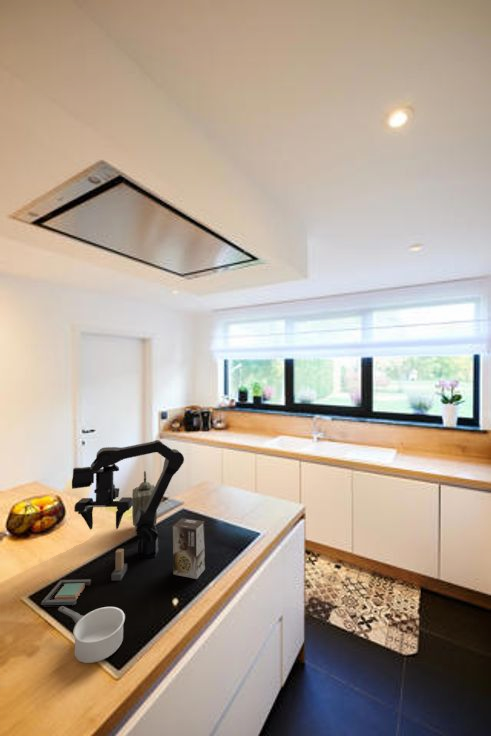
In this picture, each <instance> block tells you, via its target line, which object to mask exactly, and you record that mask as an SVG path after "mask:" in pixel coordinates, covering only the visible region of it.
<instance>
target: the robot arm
mask: <svg viewBox="0 0 491 736" xmlns="http://www.w3.org/2000/svg"><path fill="white" fill-rule="evenodd" d="M154 453H157V454H159V455H161V456H162V458H164V461H163V466H162V467H163V468H162V470H161V473H160V476H159V477H158V479H157V482H156V483H155V485H154V486H155V488H154V490H153V492H152V494H151V496H150V498H149V501H148V503H147V505H146V506H145V508H144V509H143V510H141V509H138V512H137V515H136V516H135V518H134V525H133V526H134V529H135V533H136V535H137V536H138V541H137V546H136V547H137V552H136V553H137V558H155V557H156V556H157V553H158V552H159V549H160V546H159V533H158V530H157V527H156V524H154V520H155V514H156V511H157V510H158V508H159V506H160V504H161V502H162V499H163V498H164V496H165V493H166V491H167V489H168V488H169V485H170V483H171V481H172V478H173V476H175V474H176V473H178V471H179V470H180V468H181V467H182V465H183V464H184V462H185V458H184V455H183V453H181V452H180V451H179V450H178V449H174V448H173V449H171V448H170V447H169V446H167V445H166V444H164V443H163V442H162V441H161V440H158V439H156V440H153V441H150V442H144V443H139V444H133V445H129V446H124V447H120V446H119V447H117V446H112V447H111V446H110V447H107V446H106V447H101V448H100V449H99V450H98V451H97V452H96V455H95V457H96V458H95V459H94V460H93V461H92V463H91V464H90V466H85V467H73V469H72V478H71V489H72V490H74V489H81V488H90V487H91V486H92V484H94V483H95V489H94V490H93V492H94V494H95V500H94V499H93V498H92V497H82V498H81V499H79V501H77V502H75V504H74V507H73V508H74V509H73V511H74V513H77V514H78V515H81V517H82V518H83V519H84V521H85V523H86V524H87V526H88V528H89V530H91V531H92V530H93V528H94V526H93V525H94V520H93V517H94V516H93V511H94V508H113V507H114V508H116V512H115V528H116V530H118V529H119V528H120V524H121V521H122V519H123V515H124V514H126V512H128V511H129V510H130V509H131V508H132V505H133V499H132V497H129V496H128V497H124V496H123V497H121V498H120V499H119V500H116V499H117V498H119V495H120V488H119V487H118V488H116V486H115V484H114V472H119V471H120V467H119V466H118V465H116V464H117V463H119V462H121V461H123V460H125V459H132V458H134V457H135V458H136V457H139V456H145V455H149V454H154Z"/></svg>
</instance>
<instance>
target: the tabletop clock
mask: <svg viewBox="0 0 491 736" xmlns="http://www.w3.org/2000/svg"><path fill="white" fill-rule="evenodd" d="M155 486H156V485H155V484H151V483H150V482H149V481H147V471H144V472H143V482H141V483H140V484H139V486H136V487H134V488H133V489H132V494H131V495H132V499H133V505H132V507H131V508H132V509H131V510H132V511H131V513H132V516H131V517H132V526H134V518H135V516H136V515H137V512H138V509H141V510H143V509H144V508H145V506H146V505H147V503H148V501H149V498H150V496H151V494H152V492H153V490H154V488H155ZM157 515H158V512H157V511H156V514H155V520H154V524H155V525H157Z"/></svg>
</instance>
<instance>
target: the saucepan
mask: <svg viewBox="0 0 491 736" xmlns="http://www.w3.org/2000/svg"><path fill="white" fill-rule="evenodd" d="M57 611H59V612H60V613H62V614H63V615H64V614H65V615H66V616H68V617H70V618H72V620H73V621H74V623H75V625H74V627H73V630H72V635H73V638H74V655H75V658H76V659H77V661H79V662H82V663H83V664H84V663H85V664H90V663H91V664H92V663H96V662H97V663H98V662H100V661H103V660H105V659H107V658H109V657H110V656H112V655H113V654H114V653H115V652H116V651H117V650H118V649H119V648H120V646H121V645H122V642H123V640H124V623H125V620H126V613H124V611H123V610H122V609H121V608H119V607H116V606H104V607H99V608H96V609H94V610H92V611H89V612H88V613H86V614H85V615H82V614H80V613H79V612H76V611H74V610H73V609H70V608H68V607H67V606H58V609H57Z"/></svg>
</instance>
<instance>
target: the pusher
mask: <svg viewBox="0 0 491 736" xmlns="http://www.w3.org/2000/svg"><path fill="white" fill-rule="evenodd" d="M124 551H125V549H124V548H117V549H116V551H115V559H114V561H115V564H114V565H115V567H114V568H115V569H114V570H113V571H112V573H111V575H110V577H111V580H110V581H112V582H113V581H114V582H115V581H122V579H123V577H124V576H125V574H126V572H127V570H128V563H124V562H125V560H124V559H125V557H124V556H125V552H124Z"/></svg>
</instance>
